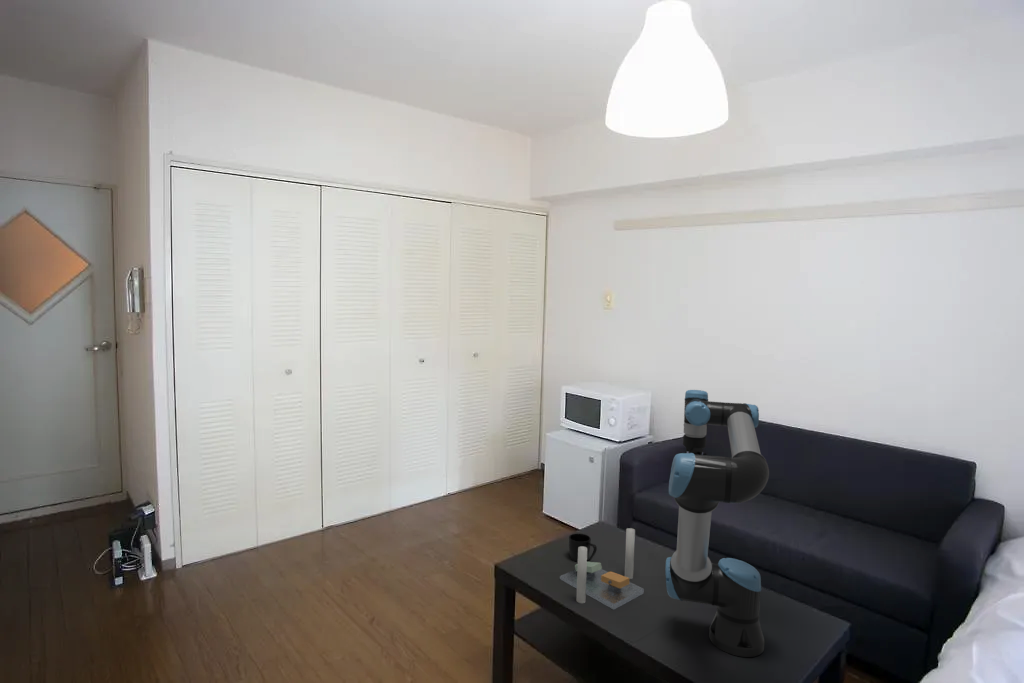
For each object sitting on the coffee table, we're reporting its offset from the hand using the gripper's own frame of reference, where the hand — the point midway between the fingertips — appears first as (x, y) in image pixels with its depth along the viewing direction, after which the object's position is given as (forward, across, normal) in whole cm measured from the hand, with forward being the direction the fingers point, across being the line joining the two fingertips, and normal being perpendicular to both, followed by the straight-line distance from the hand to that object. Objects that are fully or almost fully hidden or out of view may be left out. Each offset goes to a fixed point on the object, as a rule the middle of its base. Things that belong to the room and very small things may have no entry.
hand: (691, 502), depth 195 cm
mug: (+31, +15, -36) cm, 49 cm away
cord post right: (+30, +11, -17) cm, 37 cm away
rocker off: (+25, +24, -13) cm, 37 cm away
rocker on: (+25, +24, -25) cm, 43 cm away
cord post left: (+30, +36, -17) cm, 50 cm away
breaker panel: (+30, +24, -19) cm, 43 cm away
